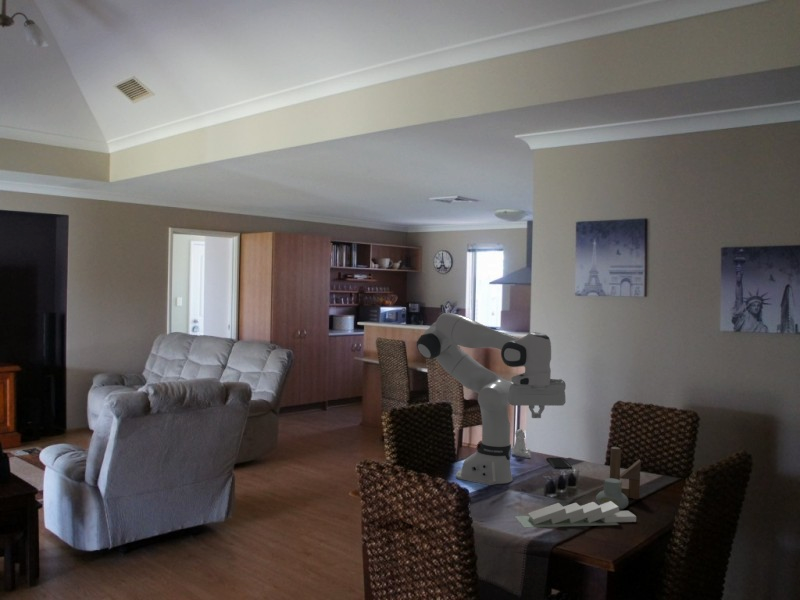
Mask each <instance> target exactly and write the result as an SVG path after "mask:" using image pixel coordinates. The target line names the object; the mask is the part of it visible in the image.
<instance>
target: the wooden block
mask: <svg viewBox="0 0 800 600" xmlns="http://www.w3.org/2000/svg"><path fill="white" fill-rule="evenodd" d="M621 454H622V449H621V447H617V446H611V447H610V456H609V457H610V459H609V460H610V463H609V478H613V479H618V480H620V479H623V480H628V486H625V485H621V493H623V494H624V495H625V496H626V497H627V498H628V499H630V498H633V499H632V500H639V499H640V489H641V487H640V485H641V466H642V465H641V459H640V458H639V459H637V460H636V461H635V462H633V464H632V465H630V466H629V467H628V468H626V470H624V471H623V472H622V473H621ZM620 481H621V480H620Z"/></svg>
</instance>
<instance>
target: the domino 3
mask: <svg viewBox="0 0 800 600" xmlns="http://www.w3.org/2000/svg"><path fill="white" fill-rule="evenodd" d="M598 505H599V504H598V503H597V502H594V501H591V502H588V503H586V504H582V505H580V506H581V507H582V508H583V511H584V514H581V515H578V516H575V517H572V518H569V519H567V520H568V521H569V522H570V523H573V522H576V521H579V520H582V519H585V518H588V517H590V516H593V515H596V514H599V513H602V510H601V507H600V506H598Z"/></svg>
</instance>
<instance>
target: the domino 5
mask: <svg viewBox="0 0 800 600" xmlns="http://www.w3.org/2000/svg"><path fill="white" fill-rule="evenodd" d="M619 511H620V512H618V513H615V514H612V515H610V516H607V517H604V518H602V519H601V520H602V521H603V522H616V523H636V522H637V516H636V515H635V514H634V513H633V512H631V511H630V510H619Z"/></svg>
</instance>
